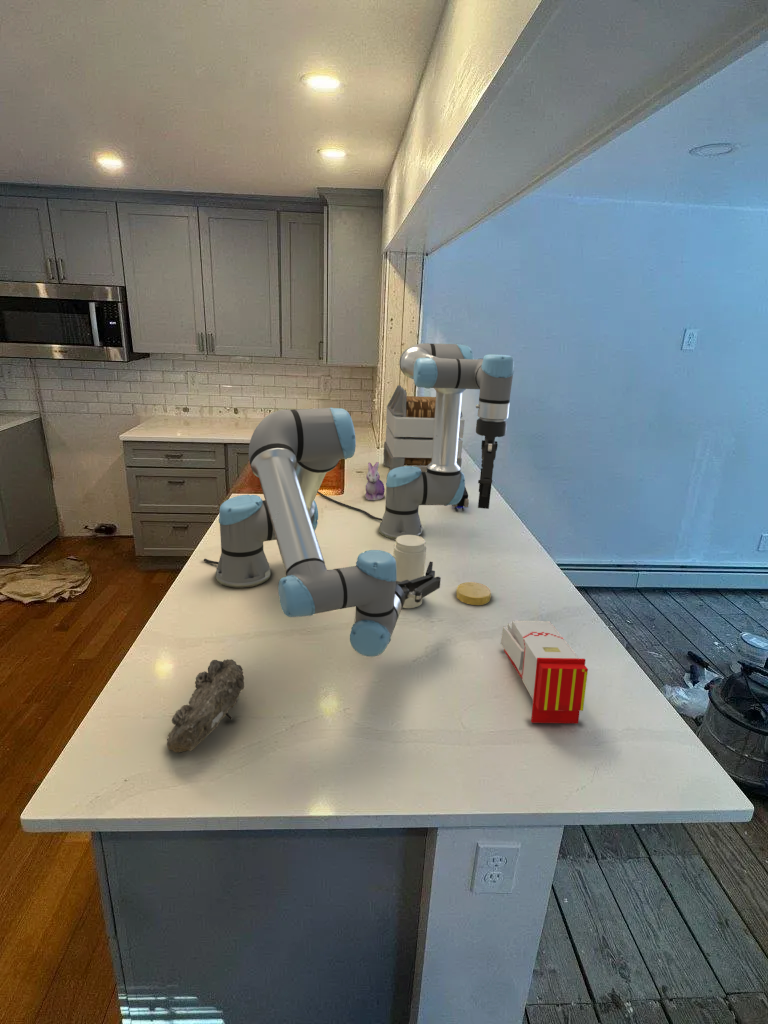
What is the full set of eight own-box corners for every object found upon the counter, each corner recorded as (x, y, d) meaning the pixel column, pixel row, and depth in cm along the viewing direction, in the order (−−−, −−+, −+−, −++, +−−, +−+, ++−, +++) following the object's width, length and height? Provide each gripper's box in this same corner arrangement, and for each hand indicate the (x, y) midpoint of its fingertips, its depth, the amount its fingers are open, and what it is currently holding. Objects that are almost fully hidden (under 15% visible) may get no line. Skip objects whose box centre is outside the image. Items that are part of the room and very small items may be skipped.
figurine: (369, 502, 230) (370, 466, 225) (359, 494, 239) (360, 460, 234) (390, 499, 234) (391, 464, 229) (378, 492, 243) (380, 458, 238)
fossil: (192, 660, 117) (244, 628, 112) (224, 691, 120) (276, 661, 115) (142, 746, 98) (202, 712, 93) (182, 779, 101) (242, 748, 96)
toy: (547, 606, 135) (596, 665, 106) (541, 658, 138) (589, 729, 108) (496, 604, 134) (532, 664, 105) (492, 657, 137) (526, 729, 108)
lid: (457, 587, 163) (458, 580, 163) (491, 591, 162) (491, 584, 161) (454, 602, 155) (455, 595, 154) (489, 607, 153) (490, 599, 152)
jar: (410, 611, 149) (414, 549, 143) (384, 600, 154) (387, 540, 148) (428, 599, 156) (433, 539, 149) (402, 589, 160) (406, 531, 154)
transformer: (382, 463, 289) (386, 382, 275) (445, 464, 293) (451, 384, 279) (390, 482, 257) (394, 392, 243) (460, 483, 261) (468, 394, 247)
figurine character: (468, 516, 224) (463, 500, 237) (471, 498, 221) (465, 483, 234) (452, 515, 224) (447, 499, 237) (453, 498, 220) (449, 482, 234)
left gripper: (328, 610, 124) (354, 569, 144) (441, 628, 120) (452, 583, 139) (329, 579, 122) (355, 542, 141) (444, 597, 117) (455, 555, 137)
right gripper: (477, 409, 153) (470, 484, 161) (476, 427, 130) (467, 513, 137) (505, 411, 152) (497, 487, 160) (509, 429, 129) (498, 516, 136)
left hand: (403, 562), depth 140 cm, fingers open, 13 cm apart
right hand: (483, 499), depth 149 cm, fingers open, 13 cm apart
